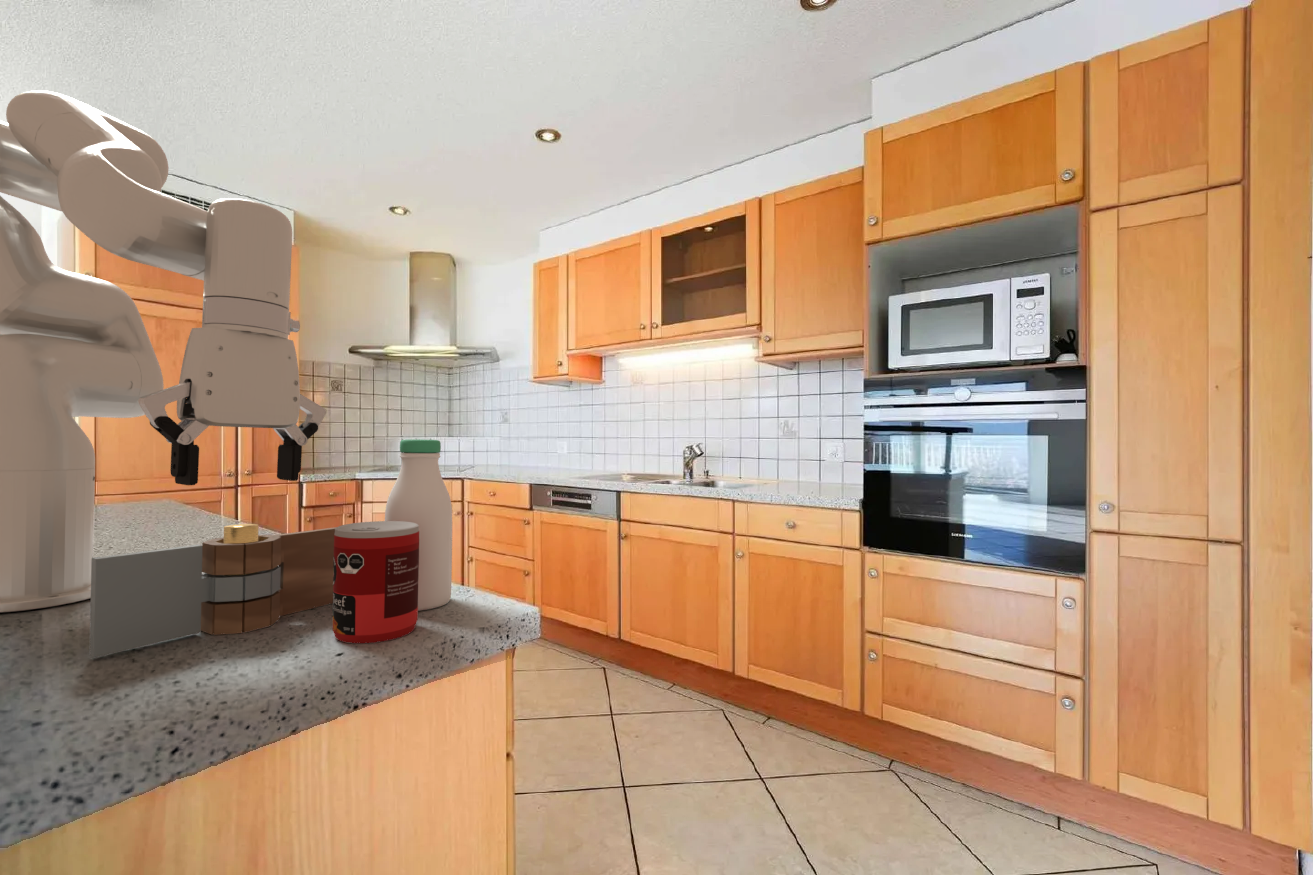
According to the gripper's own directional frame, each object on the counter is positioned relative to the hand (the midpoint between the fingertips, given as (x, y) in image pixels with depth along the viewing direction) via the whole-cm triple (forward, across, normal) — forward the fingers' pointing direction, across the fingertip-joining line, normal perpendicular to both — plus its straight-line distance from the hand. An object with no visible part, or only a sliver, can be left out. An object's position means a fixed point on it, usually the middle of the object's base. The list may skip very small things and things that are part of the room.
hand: (240, 481), depth 62 cm
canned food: (+15, -6, +15) cm, 22 cm away
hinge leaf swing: (+15, +4, +1) cm, 15 cm away
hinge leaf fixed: (+15, -5, +1) cm, 16 cm away
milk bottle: (+15, -15, +10) cm, 24 cm away
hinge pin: (+15, 0, +1) cm, 15 cm away
